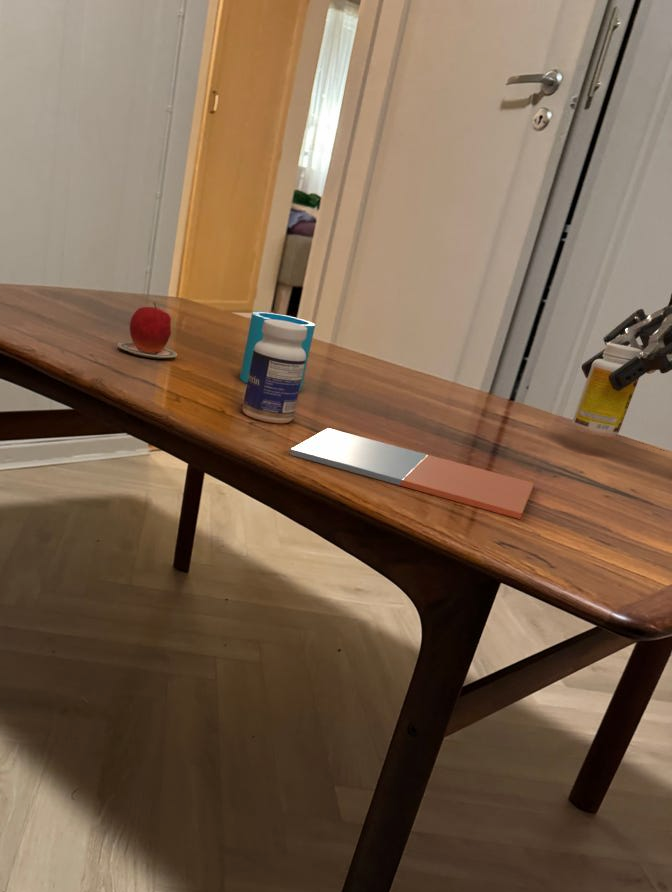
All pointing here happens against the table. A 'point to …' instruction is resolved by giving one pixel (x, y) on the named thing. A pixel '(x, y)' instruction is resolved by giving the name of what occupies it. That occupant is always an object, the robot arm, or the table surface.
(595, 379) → the supplement bottle
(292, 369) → the pill bottle
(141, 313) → the apple
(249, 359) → the mug
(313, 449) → the sorting board
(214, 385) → the table surface
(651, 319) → the robot arm
